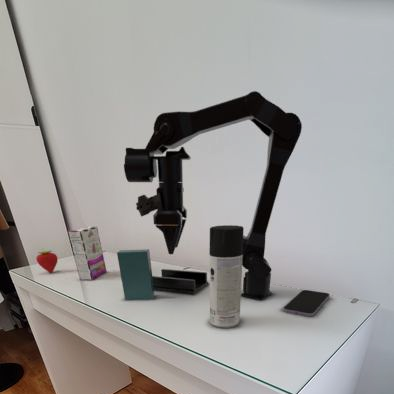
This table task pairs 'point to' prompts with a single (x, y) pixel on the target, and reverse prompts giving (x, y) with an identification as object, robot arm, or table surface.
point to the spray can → (225, 275)
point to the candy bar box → (88, 252)
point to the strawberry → (47, 260)
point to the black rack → (180, 281)
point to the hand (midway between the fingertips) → (173, 250)
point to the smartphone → (306, 303)
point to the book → (136, 274)
